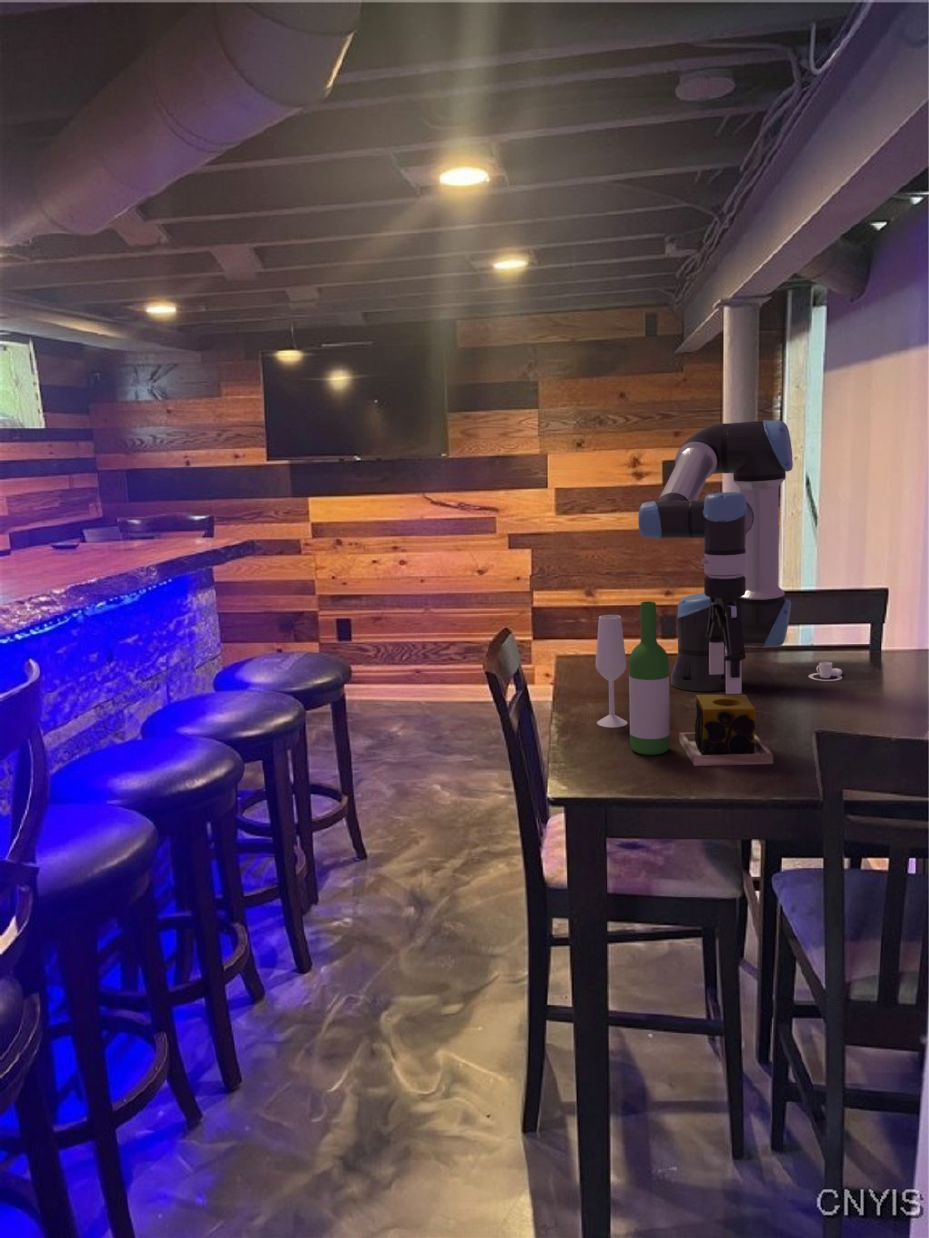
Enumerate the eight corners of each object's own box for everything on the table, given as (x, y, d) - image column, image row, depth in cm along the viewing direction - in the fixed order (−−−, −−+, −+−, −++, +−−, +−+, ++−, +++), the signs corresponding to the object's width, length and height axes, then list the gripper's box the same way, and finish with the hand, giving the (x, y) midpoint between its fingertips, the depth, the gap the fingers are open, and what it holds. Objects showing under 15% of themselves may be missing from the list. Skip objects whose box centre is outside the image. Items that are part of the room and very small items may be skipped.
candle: (694, 741, 172) (693, 694, 170) (745, 741, 171) (746, 693, 169) (701, 759, 162) (701, 708, 160) (755, 758, 161) (756, 708, 159)
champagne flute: (591, 721, 190) (588, 616, 186) (616, 716, 193) (614, 612, 189) (607, 729, 184) (605, 620, 180) (633, 724, 187) (631, 617, 182)
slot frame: (679, 741, 174) (679, 732, 174) (751, 738, 173) (751, 730, 173) (694, 765, 160) (694, 756, 160) (773, 763, 159) (773, 754, 159)
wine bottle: (645, 759, 165) (643, 607, 159) (622, 747, 172) (619, 602, 167) (677, 752, 168) (677, 602, 162) (654, 741, 175) (652, 598, 170)
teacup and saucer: (837, 674, 221) (838, 658, 220) (850, 681, 213) (851, 666, 213) (803, 675, 221) (804, 660, 221) (815, 683, 214) (815, 667, 213)
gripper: (691, 566, 173) (691, 667, 177) (720, 587, 148) (720, 703, 153) (728, 565, 172) (728, 665, 176) (764, 584, 148) (762, 701, 152)
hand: (724, 683), depth 165 cm, fingers open, 13 cm apart
